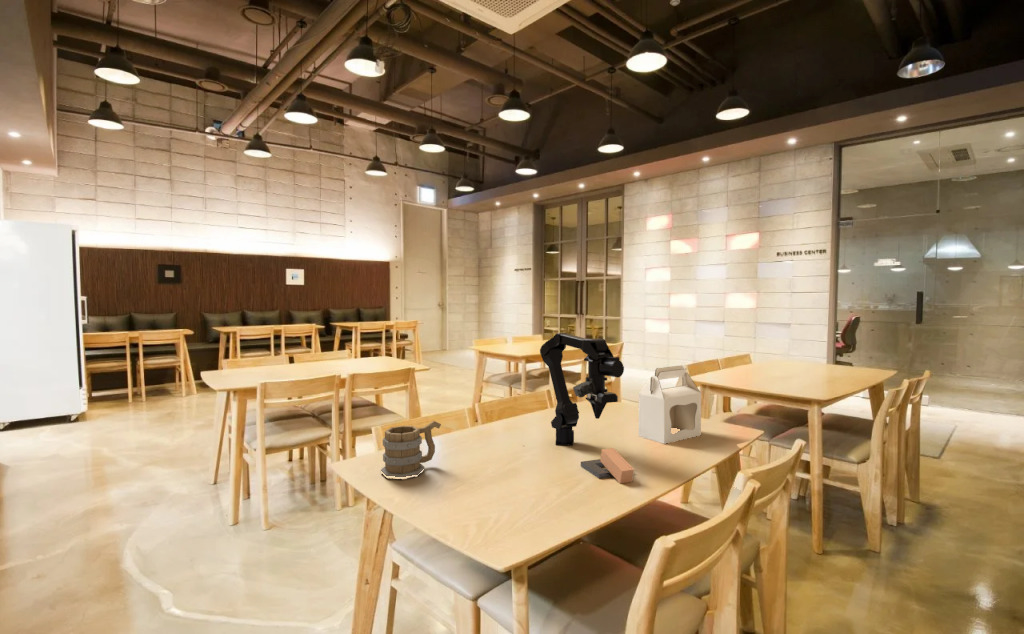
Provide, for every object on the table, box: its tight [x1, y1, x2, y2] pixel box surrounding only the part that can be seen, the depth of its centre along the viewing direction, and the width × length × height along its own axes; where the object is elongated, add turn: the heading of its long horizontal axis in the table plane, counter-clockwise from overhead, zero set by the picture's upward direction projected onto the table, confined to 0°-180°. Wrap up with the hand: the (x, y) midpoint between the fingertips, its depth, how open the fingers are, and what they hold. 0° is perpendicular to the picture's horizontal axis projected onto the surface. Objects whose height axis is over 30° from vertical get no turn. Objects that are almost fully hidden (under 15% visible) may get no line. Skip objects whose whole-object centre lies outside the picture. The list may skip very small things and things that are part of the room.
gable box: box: [638, 365, 702, 445], centre depth 192 cm, size 22×13×28 cm, turn 122°
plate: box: [580, 458, 615, 480], centre depth 154 cm, size 12×12×2 cm
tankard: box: [380, 420, 442, 477], centre depth 155 cm, size 20×13×15 cm, turn 123°
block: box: [599, 447, 635, 484], centre depth 148 cm, size 4×4×12 cm
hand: (597, 418), depth 169 cm, fingers closed
